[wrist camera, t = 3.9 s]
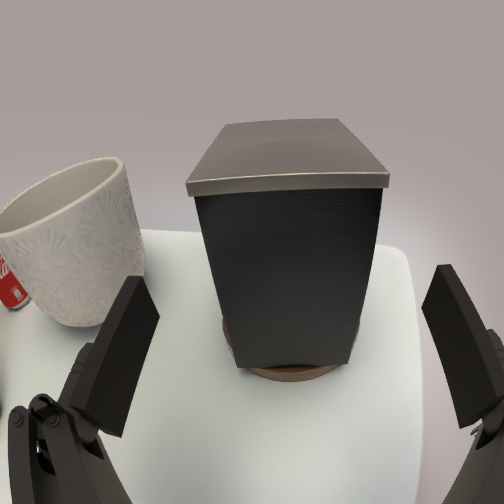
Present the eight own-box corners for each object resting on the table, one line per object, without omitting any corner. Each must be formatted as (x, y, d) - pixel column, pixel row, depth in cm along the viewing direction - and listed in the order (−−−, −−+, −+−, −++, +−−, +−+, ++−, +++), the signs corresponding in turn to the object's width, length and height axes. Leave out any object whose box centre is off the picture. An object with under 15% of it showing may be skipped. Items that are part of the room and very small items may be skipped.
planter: (88, 255, 41) (53, 168, 32) (180, 257, 38) (151, 147, 29) (30, 335, 28) (-33, 239, 19) (128, 364, 25) (49, 233, 16)
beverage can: (2, 308, 32) (-36, 248, 25) (22, 283, 37) (-10, 223, 30) (19, 316, 31) (-23, 249, 24) (41, 287, 36) (6, 222, 29)
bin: (330, 257, 33) (333, 114, 23) (350, 366, 21) (390, 172, 12) (247, 260, 34) (228, 120, 24) (234, 370, 22) (184, 182, 13)
